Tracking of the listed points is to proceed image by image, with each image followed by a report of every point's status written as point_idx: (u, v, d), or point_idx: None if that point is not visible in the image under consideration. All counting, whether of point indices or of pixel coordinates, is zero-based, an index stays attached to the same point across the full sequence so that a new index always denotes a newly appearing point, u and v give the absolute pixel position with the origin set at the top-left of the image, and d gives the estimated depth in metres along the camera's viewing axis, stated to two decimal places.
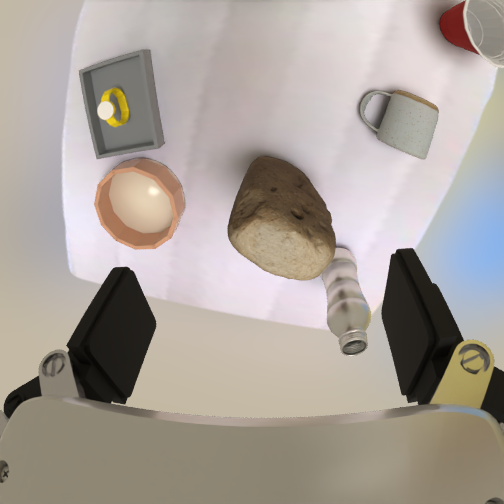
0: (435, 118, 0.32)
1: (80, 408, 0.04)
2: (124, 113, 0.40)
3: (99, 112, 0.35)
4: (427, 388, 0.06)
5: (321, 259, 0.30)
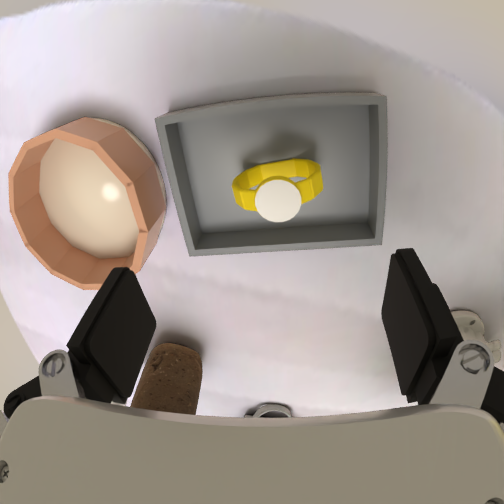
0: None
1: (80, 408, 0.04)
2: (258, 175, 0.22)
3: (275, 185, 0.17)
4: (427, 388, 0.06)
5: None
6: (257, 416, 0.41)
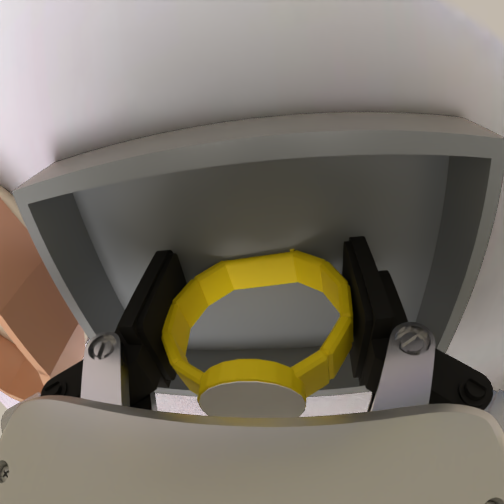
0: None
1: (80, 408, 0.04)
2: (222, 282, 0.12)
3: (243, 389, 0.07)
4: (370, 369, 0.07)
5: None
6: None
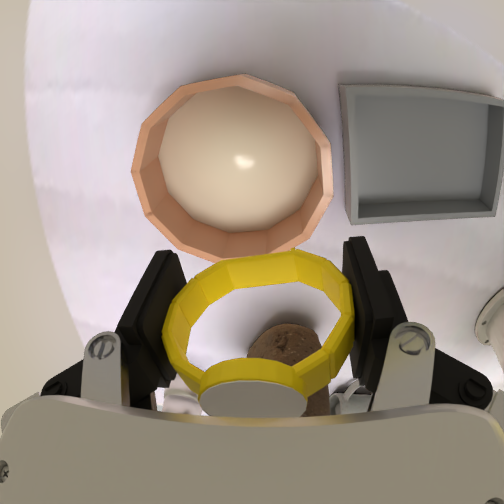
0: None
1: (80, 408, 0.04)
2: (223, 281, 0.12)
3: (244, 389, 0.06)
4: (370, 369, 0.07)
5: None
6: (352, 391, 0.40)
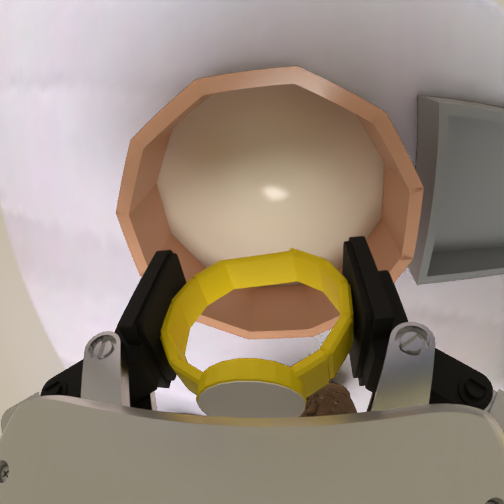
0: None
1: (80, 408, 0.04)
2: (222, 281, 0.12)
3: (242, 389, 0.06)
4: (369, 369, 0.07)
5: None
6: None
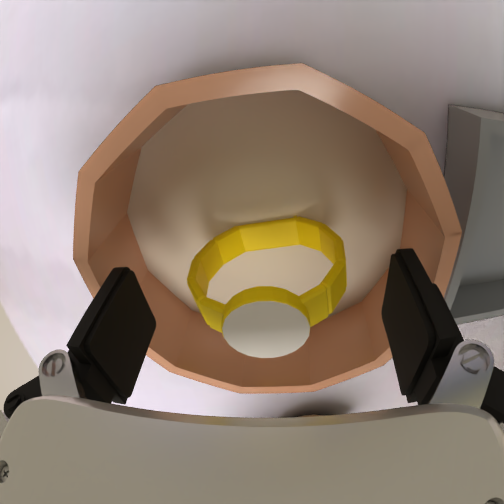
0: None
1: (80, 408, 0.04)
2: (236, 243, 0.14)
3: (261, 310, 0.09)
4: (427, 388, 0.06)
5: None
6: None
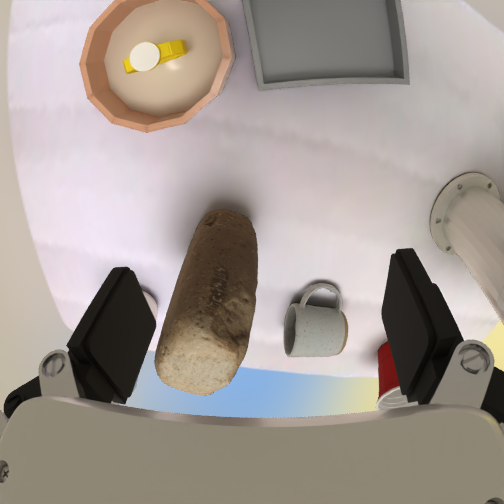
0: (327, 356, 0.42)
1: (80, 408, 0.04)
2: None
3: (141, 46, 0.20)
4: (427, 388, 0.06)
5: (197, 393, 0.25)
6: (307, 296, 0.41)
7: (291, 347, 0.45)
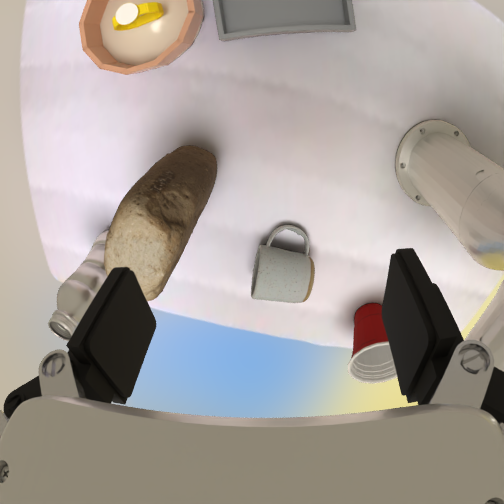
0: (294, 302, 0.43)
1: (80, 408, 0.04)
2: (134, 22, 0.27)
3: (125, 6, 0.22)
4: (427, 388, 0.06)
5: None
6: (272, 235, 0.42)
7: None
